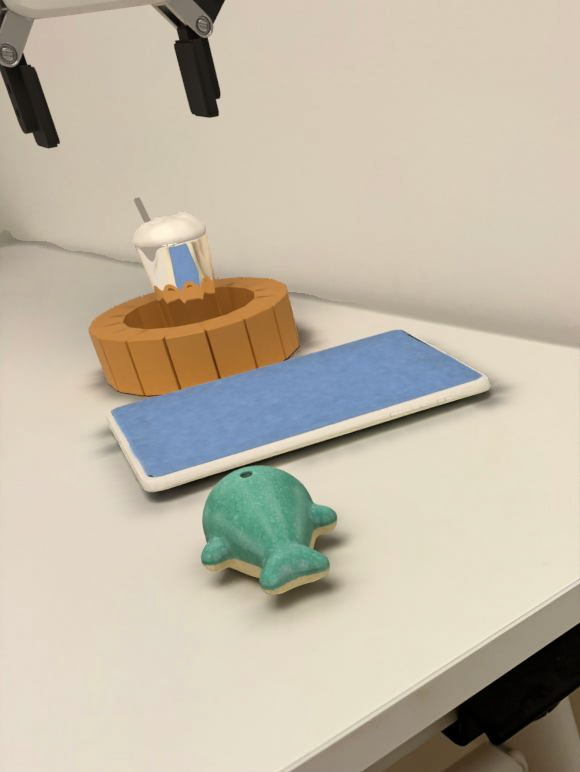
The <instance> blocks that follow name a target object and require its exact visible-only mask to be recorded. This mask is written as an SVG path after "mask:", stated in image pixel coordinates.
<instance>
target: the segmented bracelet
mask: <svg viewBox="0 0 580 772" xmlns="http://www.w3.org/2000/svg"><path fill="white" fill-rule="evenodd" d="M215 282H216V287H217V291H218V296H219V301H220V305H221V310H222V315H223V316H220V317H216V318H213V319H210V320H206V321H203V322H199V323H194V324H189V325H183V326H178V327H171V328H168V325H167V323H166V320H165V318H164V315H163V313H162V310H161V308H160V305H159V303H158V300H157V298H156V295H155V292H154V291H153V292H149V293H147V294H143V295H142V296H140V295H139V296H136V297H135V298H132V299H130V300H127V301H124V302H122V303H119V304H117V305H114V306H113V307H111V308H109V309H107V310H106V311H104V312H103V313H101V314H100V315H98V316H96V317H95V318H94V319H93V320H92V322H91V323H90V326H89V327H88V330H87V332H88V334H89V338H90V340H91V342H92V345H93V347H94V350H95V353H96V356H97V358H98V361H99V364H100V366H101V369H102V371H103V374H104V377H105V380H106V382H107V384H109V385H110V386H111V387H112V388H113V389H114V390H116V391H117V392H120V393H125V394H129V395H135V396H149V397H150V396H151V397H152V396H160V395H164V394H167V393H171V392H174V391H178V390H181V389H185V388H188V387H192V386H196V385H199V384H203V383H207V382H211V381H214V380H218V379H222V378H225V377H229V376H232V375H236V374H239V373H243V372H247V371H250V370H254V369H257V368H261V367H264V366H268V365H272V364H275V363H279V362H283V361H286V360H288V358H289V357H290V356H291V355H292V354H293V353H294V352H295V351H296V350H297V349H298V348H299V347H300V346H301V345H300V337H299V332H298V329H297V325H296V321H295V320H296V319H295V317H294V312H293V308H292V304H291V299H290V296H289V292H288V291H289V290H288V287H287V284H286V283H284V282H281V281H279V280H276V279H274V278H268V277H254V276H253V277H251V276H245V277H243V276H239V277H226V278H215Z"/></svg>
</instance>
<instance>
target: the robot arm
mask: <svg viewBox="0 0 580 772" xmlns="http://www.w3.org/2000/svg"><path fill="white" fill-rule="evenodd" d="M225 1H226V0H0V75H1V78H2V81H3V83H4V86H5V89H6V91H7V94H8V95H7V96H8V98H9V100H10V103H11V105H12V108H13V111H14V114H15V117H16V120H17V122H18V125H19V127H20V129H21V131H22V133H23V134H25V135H28V134H32V136H33V138H34V141H35V143H36V145H37V146H38V147H41V148H45V149H53V148H58V145H60V144H61V141H60V137H59V134H58V130H57V129H56V125H55V122H54V120H53V117H52V114H51V110H50V107H49V104H48V101H47V99H46V98H47V97H46V96H45V92H44V89H43V87H42V83H41V81H40V78H39V75H38V72H37V69H36V67H35V66H32V64H28V62H27V58H26V56H25V53H24V51H25V48H26V45H27V42H28V39H29V36H30V34H31V31H32V27H33V25H34V22H35V20H40V19H41V20H42V19H50V18H51V19H52V18H61V17H67V16H75V15H83V14H91V13H96V12H97V13H98V12H106V11H113V10H120V9H128V8H135V7H141V6H142V7H143V6H148V5H149V6H150V5H151V6H152V8H154V10H155V11H157V12H158V14H160V16H162V18H163V19H165V20H166V21H167V22H168V23H169V24H170V25H171V26H172V27H173V28H174V29H175V30H176V33H177V37H178V39H176V40H174V44H173V49H174V53H175V57H176V61H177V65H178V68H179V72H180V76H181V80H182V85H183V88H184V92H185V96H186V99H187V104H188V108H189V111H190V113H191V115H194V116H196V117H200V118H208V119H211V118H216V117H219V115H220V110H219V106H218V103H217V100H220V99H221V87H220V84H219V79H218V75H217V71H216V66H215V62H214V57H213V54H212V48H211V45H210V40H209V37H211V35H212V34H213V32H214V24H215V22H216V19H218V16H219V14H220V12H221V9H222V7H224V6H223V5H224V4H225Z"/></svg>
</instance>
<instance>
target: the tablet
mask: <svg viewBox="0 0 580 772" xmlns="http://www.w3.org/2000/svg"><path fill="white" fill-rule="evenodd" d="M491 387H492V385H491V382H490V379H489V376H488V375H486V374H485V373H483V372H482V371H479V370H477V369H475V368H473V367H472V366H470V365H468V364H466V363H465V362H463V361H461V360H459V359H458V358H456V357H454V356H453V355H451V354H449V353H447V352H446V351H444V350H442V349H440V348H438V347H437V346H435V345H433V344H431V343H429V342H428V341H425V340H424V339H422V338H421V337H419V336H417V335H415V334H413V333H412V332H410V331H408V330H406V329H405V330H404V329H392V330H388V331H385V332H381V333H378V334H374V335H370V336H367V337H363V338H360V339H356V340H353V341H350V342H346V343H343V344H339V345H336V346H332V347H329V348H325V349H322V350H319V351H314V352H311V353H307V354H304V355H301V356H296V357H292V358H290V359H285V360H284V361H282V362H279V363H275V364H272V365H268V366H264V367H261V368H257V369H254V370H250V371H247V372H243V373H239V374H236V375H232V376H229V377H225V378H222V379H218V380H214V381H211V382H207V383H203V384H199V385H196V386H192V387H188V388H185V389H181V390H178V391H174V392H171V393H167V394H164V395H155V396H153V397H152V396H151V397H149V398H146V399H141V400H138V401H135V402H131V403H127V404H124V405H120V406H117V407H115V408H113V409H111V410H110V411H109V412H107V414H106V421H107V424H108V426H109V428H110V431H111V433H112V434H113V436H114V437H115V439H116V441H117V443H118V446H119V447H120V449H121V451H122V453H123V455H124V458H125V459H126V461H127V462H128V464H129V466H130V467H131V469H132V471H133V473H134V475H135V477H136V478H137V479H138V482H139V484H140V486H141V488H142V490H143V491H145V492H147V493H156V492H160V491H165V490H169V489H172V488H175V487H178V486H181V485H184V484H187V483H190V482H193V481H196V480H197V481H198V480H199V479H204V478H207V477H209V476H213V475H217V474H220V473H223V472H226V471H229V470H232V469H236V468H239V467H243V466H245V465H249V464H252V463H256V462H259V461H262V460H265V459H268V458H269V459H270V458H272V457H276V456H279V455H282V454H285V453H288V452H292V451H295V450H298V449H302V448H304V447H308V446H311V445H315V444H318V443H322V442H325V441H327V440H328V441H329V440H331V439H334V438H338V437H341V436H345V435H347V434H350V433H353V432H356V431H361V430H363V429H366V428H369V427H374V426H376V425H379V424H383V423H386V422H389V421H393V420H396V419H398V418H402V417H405V416H408V415H412V414H415V413H418V412H422V411H425V410H428V409H431V408H435V407H438V406H441V405H445V404H447V403H451V402H455V401H458V400H461V399H464V398H468V397H471V396H475V395H479V394H481V393H484V392H487V391H489V390H490V389H491Z"/></svg>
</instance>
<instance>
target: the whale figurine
mask: <svg viewBox="0 0 580 772" xmlns="http://www.w3.org/2000/svg"><path fill="white" fill-rule="evenodd" d="M201 522H202V530H203V533H204V537H205V543H206V544H205V546H204V547H203V549H202V552H201V553H200V554H201V555H200V560H201V565H202V566H203V567H204V568H205V569H206V570H208V571H210V572H214V573H217V572H221V571H224V570H225V569H228V568H230V569H232V570H236V571H238V572H240V573H242V574H245V575H247V576H251V577H254V578H257V579H258V583H259V585H260V588H261V589H262V591H263V592H264V593H265V594H267V595H271V596H272V595H281V594H284V593H286V592H287V591H288V592H289V591H290V590H292V589H294V588H297V587H300V586H303V585H305V584H309V583H313V582H317V581H319V580H320V579H323V578H324V577H325V576H327V575H328V574H329V573H330V572H331V571H330V570H331V564H330V560H329V558H328V557H327V556H326V555H324V554H323V553H321V552H319V551H318V550H316V549H314V547H315V543H316V540H317V538H318V537H319V536H321V535H326V534H329V533H331V532H333V531H334V530H335V529H336V527H337V525H338V515H337V512H336V511H335V510H334V509H333V508H331V507H329V506H328V505H322V504H319V503H318V504H317V503H315V502H314V501H313V498H312V496H311V494H310V493H309V490H308V489H307V487H306V486H305V485H304V484H303V483H302V481H300V480H299V479H298V478H297V477H295V476H294V475H292V474H291V473H289V472H287V471H285V470H284V469H280V468H277V467H274V466H270V465H250V466H244V467H241V468H239V469H236V470H233V471H232V472H230V473H228V474H227V475H225V476H223V477H222V478H221V479H220V480H219V481H218V482H217V483H216V484H215V485H214V486H213V488H212V489H211V491H210V492H209V493H208V496H207V498H206V500H205V503H204V506H203V509H202V517H201Z"/></svg>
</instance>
